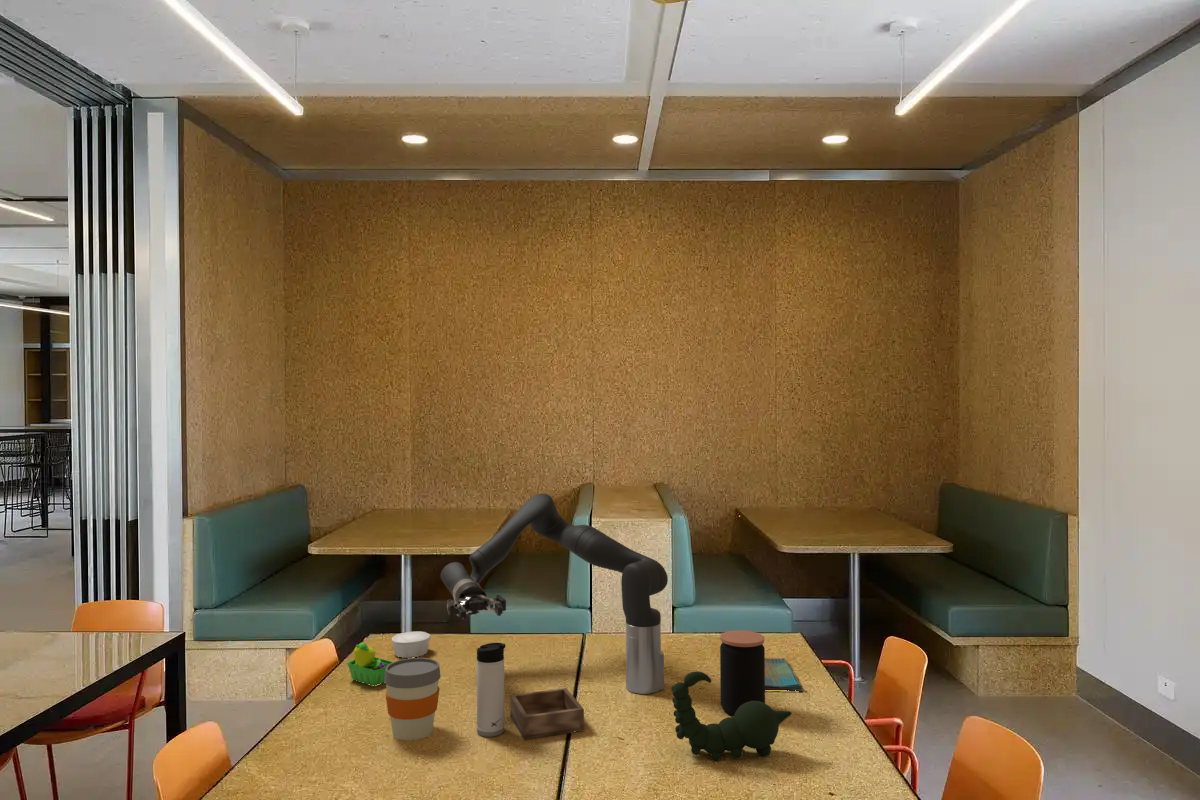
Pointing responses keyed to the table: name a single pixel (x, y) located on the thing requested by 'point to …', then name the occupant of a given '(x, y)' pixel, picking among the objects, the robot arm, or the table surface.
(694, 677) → the toy figurine
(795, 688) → the dish towel
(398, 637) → the ramekin
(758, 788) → the table surface
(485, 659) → the travel mug
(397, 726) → the reusable coffee cup
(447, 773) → the table surface
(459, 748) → the table surface
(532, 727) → the walnut crate
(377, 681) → the fruit basket
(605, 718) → the table surface
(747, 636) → the coffee jar
